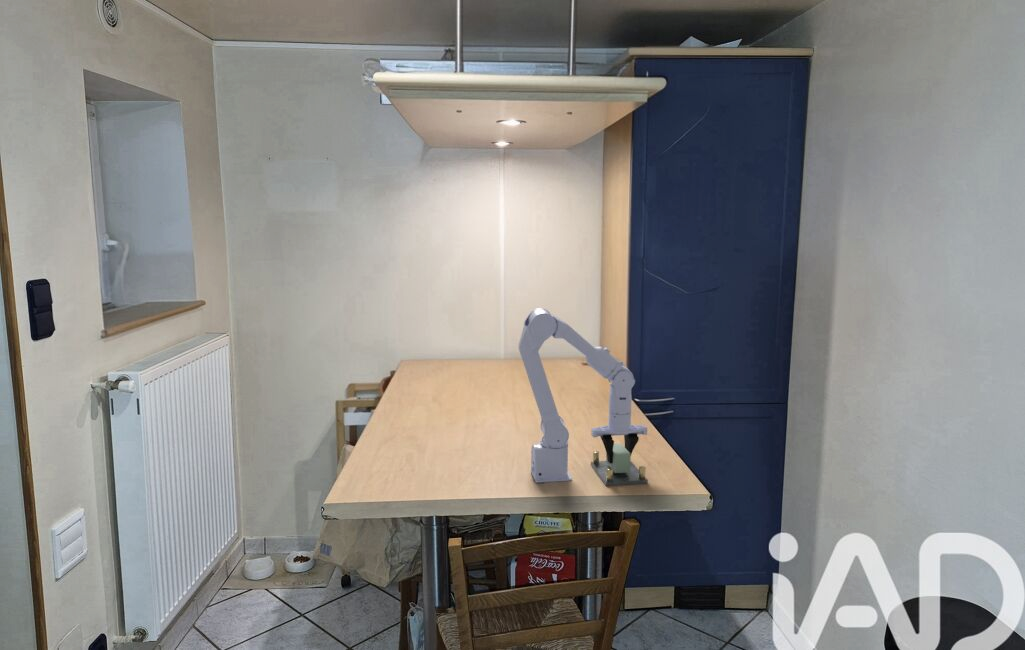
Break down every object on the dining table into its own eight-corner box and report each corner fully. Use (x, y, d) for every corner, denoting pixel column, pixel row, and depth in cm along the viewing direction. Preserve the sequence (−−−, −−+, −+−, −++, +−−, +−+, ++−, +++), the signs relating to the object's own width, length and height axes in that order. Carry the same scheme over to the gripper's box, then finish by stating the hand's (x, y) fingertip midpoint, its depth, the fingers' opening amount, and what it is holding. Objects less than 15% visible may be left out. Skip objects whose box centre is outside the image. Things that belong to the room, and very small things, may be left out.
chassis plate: (605, 486, 176) (606, 471, 175) (590, 465, 190) (590, 451, 189) (647, 483, 177) (648, 468, 177) (629, 462, 192) (629, 449, 191)
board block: (615, 473, 180) (615, 454, 179) (606, 462, 187) (606, 444, 186) (630, 472, 180) (630, 453, 179) (620, 461, 188) (621, 443, 187)
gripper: (641, 406, 186) (639, 454, 188) (588, 408, 184) (587, 457, 186) (650, 413, 179) (648, 464, 181) (596, 416, 177) (594, 467, 179)
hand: (618, 461), depth 183 cm, fingers closed on board block, 4 cm apart
